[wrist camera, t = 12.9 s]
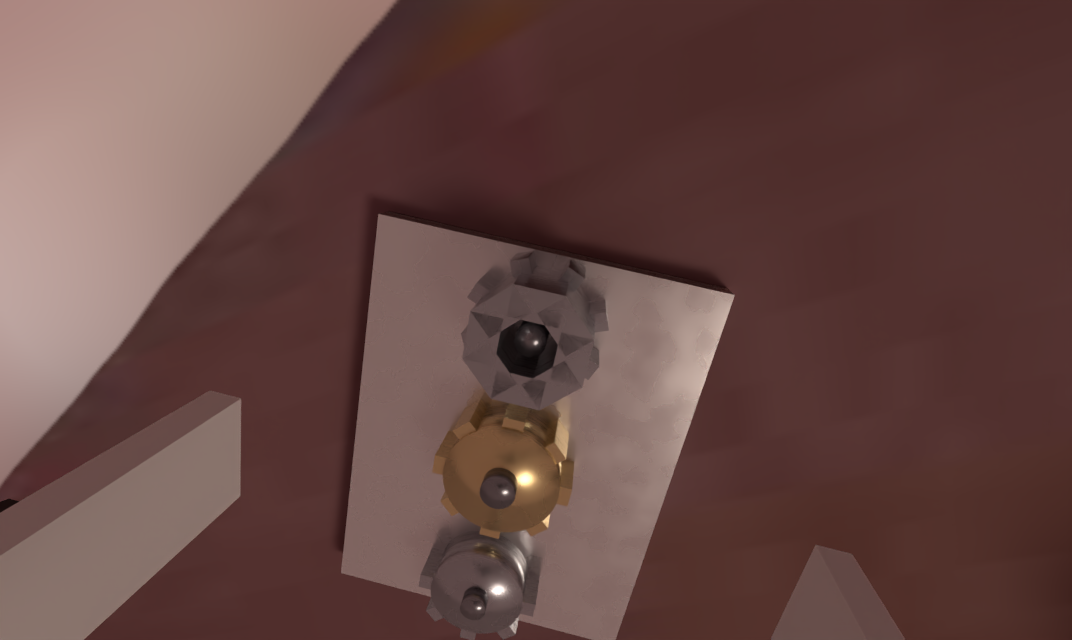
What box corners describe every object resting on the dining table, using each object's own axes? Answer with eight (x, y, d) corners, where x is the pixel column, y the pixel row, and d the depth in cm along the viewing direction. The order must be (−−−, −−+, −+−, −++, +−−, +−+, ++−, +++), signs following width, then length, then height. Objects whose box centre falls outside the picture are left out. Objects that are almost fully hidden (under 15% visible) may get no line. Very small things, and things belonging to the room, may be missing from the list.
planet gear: (485, 239, 28) (462, 255, 23) (620, 269, 27) (625, 292, 23) (464, 363, 30) (439, 400, 25) (588, 392, 30) (586, 436, 25)
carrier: (389, 211, 30) (344, 222, 24) (727, 288, 29) (756, 316, 23) (350, 557, 38) (310, 620, 33) (612, 626, 37) (615, 703, 32)
